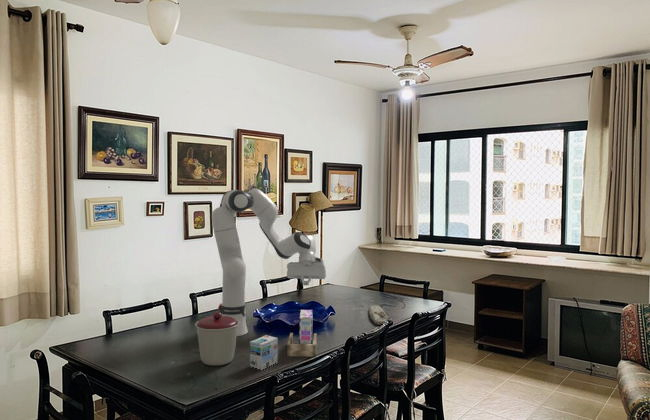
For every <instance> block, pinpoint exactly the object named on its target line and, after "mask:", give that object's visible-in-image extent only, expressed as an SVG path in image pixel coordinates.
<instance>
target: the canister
mask: <svg viewBox="0 0 650 420" xmlns="http://www.w3.org/2000/svg"><path fill="white" fill-rule="evenodd" d="M238 325H239V321H238V320H237V319H235V318H233V317H230V316H222V314H221V313H220V312H219V311H215V312H214V313H213V315H212V316H206V317H203V318H201V319H199V320H198V321H196V322H195V324H194V326H195V328H196V332H197V341H198V348H199V355H200V359H201V361H202V363H203V364H204V365H207V366H212V367H213V366H214V367H215V366H216V367H218V366H224V365H227V364H229V363H230V362H232V360H233V359H234V358H235V357H234V356H235V353H236V352H235V351H236V345H237V337H238V336H237V328H238Z"/></svg>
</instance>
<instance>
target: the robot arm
mask: <svg viewBox="0 0 650 420" xmlns="http://www.w3.org/2000/svg"><path fill="white" fill-rule="evenodd" d="M246 210H251V211H252V212H253V214H254V215H255V217H257V218H258V220H259V223H258V224H259V228H260V230H261V231H262V233H263V234H264V236H265V237H266V238H267V240H268V241H269V242H270V244H271V245H272V247H273V248H274V250H275V253H276V255H277V257H279V258H281V259H284V260H287V259H290V258H291V257H292V256H294V255H296V254H299V255H298V261H295V262H293V261H291V262H288V263H287V264H286V269H287V271H286V277H287V278H288V279H294V280H295V279H300V280H301V282H302V286H309V285H310V282H311V281H312V280H325V279H326V277H327V276H326V275H327V274H326V272H327V270H326V266H325V263H324V261H325V260H324V259H323V258H320V257H316V253H317V244H316V239H315V238H314V237H313V235H310V234H304V233H302V232H301V231H299V232H298V231H297V232H295V233H292V234H291V235H289V236H288V237H286V238H284V239H282V238H280V236H279V235H278V233H277V232H276V230H275V229H274V227H273V226H274V224H275V221H276V220H277V217H278V215H279V208H278V206H277V204H276V203H275V202H274V201H273V200H272V199H271V198H270V197H269V196H268V195H267V194H266V193H264V192H263V191H262V190H261V189H258V188H252V189H250V190H249V191H244V190H240V189H239V190H238V189H233V190H228V191H226V192H225V193H223V195H222V198H221V201H220V203H219V207H216V208H215V209H213V211H212V213H211V222H212V228H213V233H214V238H215V243H216V246H217V250H218V255H219V259H220V264H221V269H222V291H221V292H222V295H221V296H222V297H221V298H222V301H221V303H219V305H218V307H217V310H218V311H217V312H220V313H221V314H222V316H230V317H233V318H235V319H237V320H238V321H239V325H238V328H237V337H240V336H244V335H247V333H249V331H248V327H247V323H246V322H247V321H246V313H247V312H246V311H247V309H246V308H247V307H246V303H245V302H246V299H245V297H246V296H245V295H246V292H245V289H246V278H247V277H246V272H247V266H246V264H245V261H244V258H243V253H242V249H241V244H240V243H241V242H240V239H239V234H238V229H237V225H236V222H235V215H236V213H241V212H245V211H246ZM305 279H307V280H305Z"/></svg>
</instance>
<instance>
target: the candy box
mask: <svg viewBox="0 0 650 420" xmlns="http://www.w3.org/2000/svg"><path fill="white" fill-rule="evenodd" d="M313 316H314V315H313V309H300V313H299V319H298V320H299V325H298V329H299V330H298V335H299V336H298V344H313Z"/></svg>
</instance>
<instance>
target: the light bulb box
mask: <svg viewBox="0 0 650 420" xmlns="http://www.w3.org/2000/svg"><path fill="white" fill-rule="evenodd" d="M278 341H279V339H278V337H275V336H271V335H267V334H265V335H263V336H261V337H259V338H256V339H254V340H250V341H249V367H250V366H251V367H250V368H252V367H254V368H253V369H255V368H257V369H256V370H259V369H260V371H263V369H264V370H266V369H268V368H270V367H272V366H273V364H274V365H276V364H278V349H279V348H278V346H279V344H278V343H279V342H278ZM275 363H276V364H275ZM271 365H272V366H271ZM269 366H270V367H269ZM267 367H268V368H267ZM265 368H266V369H265Z"/></svg>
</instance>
